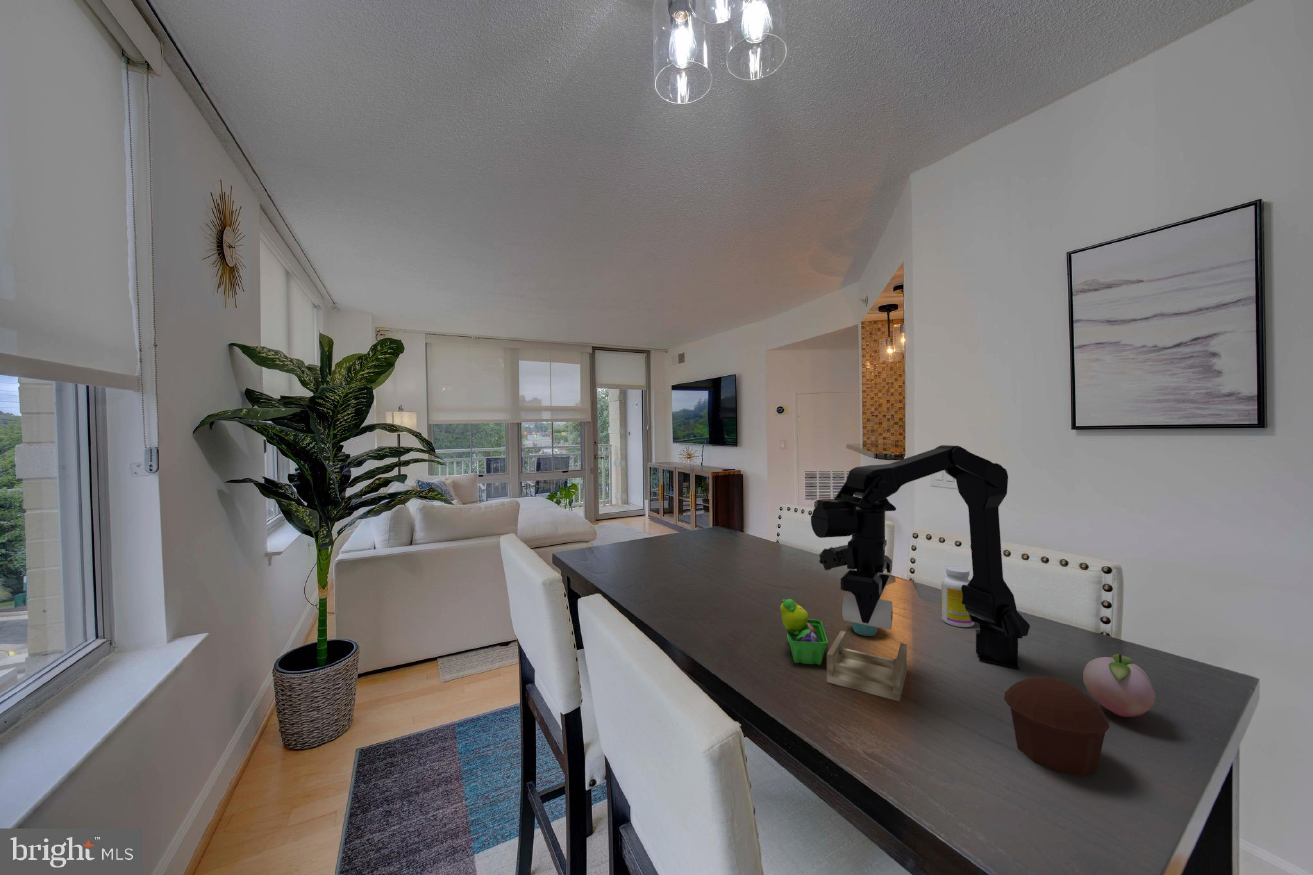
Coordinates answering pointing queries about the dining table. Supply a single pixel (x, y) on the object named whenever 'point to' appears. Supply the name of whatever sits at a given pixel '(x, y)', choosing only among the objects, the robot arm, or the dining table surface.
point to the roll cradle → (866, 670)
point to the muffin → (1057, 724)
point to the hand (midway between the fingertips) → (867, 617)
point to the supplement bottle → (955, 597)
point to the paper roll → (879, 618)
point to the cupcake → (864, 629)
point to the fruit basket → (803, 634)
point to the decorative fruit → (1119, 685)
